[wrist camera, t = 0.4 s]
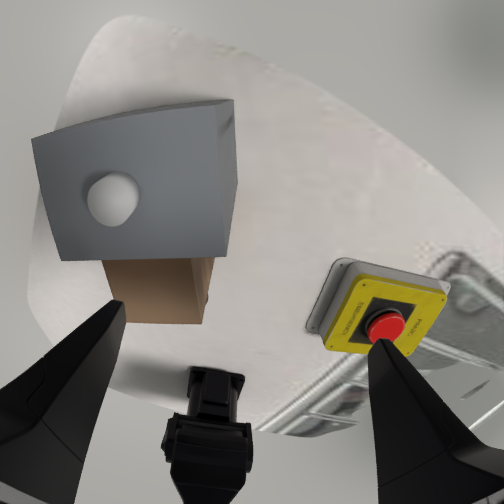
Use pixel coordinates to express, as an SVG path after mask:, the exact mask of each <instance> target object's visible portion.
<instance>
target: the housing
mask: <svg viewBox="0 0 504 504" xmlns="http://www.w3.org/2000/svg"><path fill="white" fill-rule="evenodd" d="M31 141H32V147H33V153H34V159H35V164H36V169H37V174H38V179H39V183H40V188H41V192H42V196H43V200H44V204H45V208H46V212H47V216H48V220H49V223H50V227H51V230H52V233H53V237H54V240H55V243H56V246H57V250H58V253H59V256H60V259H61V261H87V260H126V259H164V258H200V257H226V255H227V248H228V242H229V235H230V228H231V222H232V215H233V209H234V202H235V196H236V190H237V184H238V180H237V161H236V141H235V121H234V100H219V101H206V102H195V103H186V104H177V105H169V106H161V107H154V108H148V109H141V110H135V111H130V112H124V113H119V114H115V115H111V116H106V117H102V118H98V119H95V120H91V121H87V122H84V123H80V124H76V125H73V126H70V127H66V128H63V129H60V130H57V131H54V132H50V133H47V134H44V135H42V136H39V137H36V138H33V139H31Z"/></svg>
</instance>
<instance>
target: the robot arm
mask: <svg viewBox="0 0 504 504" xmlns="http://www.w3.org/2000/svg"><path fill="white" fill-rule="evenodd" d="M125 325H126V312H125V305H124V302H123V301H119V300H114V299H113V300H111V301H109V302H108V303H107V304H106V305H104V306H103V307H102V308H101V309H99V310H98V311H97V312H96V313H94V314H93V315H92V316H91V317H90V318H88V319H87V320H86V321H85V322H83V323H82V324H81V325H80V326H79V327H77V328H76V329H75V330H74V331H73V332H71V333H70V334H69V335H68V336H67V337H65V338H64V339H63V340H62V341H61V342H59V343H58V344H57V345H56V346H55V347H53V348H52V349H51V350H50V351H49V352H48V353H46V354H45V355H44V357H42V358H41V359H39V360H38V361H37V362H36V363H35V364H33V365H32V366H31V367H30V368H29V369H28V370H26V371H25V372H24V373H22V374H21V375H20V376H18V377H17V378H16V379H14V380H13V381H11V382H10V383H8V384H7V385H6V386H4V387H3V388H1V389H0V504H74V502H75V497H76V493H77V489H78V485H79V480H80V477H81V473H82V469H83V465H84V461H85V458H86V454H87V451H88V447H89V444H90V440H91V437H92V433H93V430H94V427H95V424H96V421H97V417H98V414H99V411H100V408H101V405H102V402H103V399H104V396H105V393H106V390H107V387H108V384H109V382H110V379H111V376H112V373H113V370H114V367H115V364H116V361H117V357H118V353H119V349H120V345H121V341H122V337H123V333H124V329H125ZM368 379H369V396H370V404H371V413H372V421H373V430H374V441H375V450H376V464H377V478H378V500H379V501H378V502H379V504H504V450H501V449H497V448H492V447H489V446H487V445H485V444H484V443H482V442H481V441H480V440H479V439H478V438H477V437H476V436H475V435H474V434H473V433H472V432H471V431H470V430H469V429H468V428H467V427H466V426H465V425H464V424H463V423H462V422H461V420H460V419H459V418H458V417H457V416H456V415H455V414H454V413H453V412H452V411H451V409H450V408H449V407H448V406H447V405H446V404H445V403H444V402H443V400H442V399H441V398H440V397H439V395H438V394H437V393H436V392H435V391H434V389H433V388H432V387H431V386H430V385H429V384H428V382H427V381H426V380H425V379H424V378H423V377H422V375H421V374H420V373H419V372H418V371H417V370H416V369H415V367H414V366H413V365H412V364H411V363H410V362H409V361H408V359H407V358H406V357H405V356H404V355H403V354H402V353H401V352H400V350H399V349H398V348H397V347H396V346H395V345H394V344H393V343H392V341H391V340H390V339H388V338H378V339H377V340H376V342H375V343H374V345H373V346H372V347H371V349H370V350H369V352H368ZM244 382H245V376H243V375H237V374H231V373H225V372H219V371H213V370H207V369H202V368H196V367H192V368H191V371H190V378H189V385H188V392H187V397H188V398H189V405H188V411H187V415H181V414H179V413H175V412H174V415H173V417H172V418H170V419H168V423H167V428H166V432H165V435H164V438H163V440H162V443H161V449H162V450H163V451H164V452H165V456H166V462H168V463H171V470H170V474H171V478H172V481H173V483H174V485H175V487H176V489H177V491H178V493H179V495H180V497H181V499H182V501H183V503H184V504H229V503H230V502H231V501H232V500H233V498H234V497H235V496H236V495H237V493H238V492H239V491H240V490H241V488H242V487H243V486H244V484H245V481H246V473H249V472H250V471H251V468H252V462H253V441H252V432H251V423H238V422H236V418H237V401H238V398H239V395H240V393H241V390H242V387H243V385H244Z"/></svg>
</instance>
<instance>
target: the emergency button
mask: <svg viewBox="0 0 504 504" xmlns="http://www.w3.org/2000/svg"><path fill="white" fill-rule="evenodd" d="M450 288H451V286H450V283H449V282H447V281H444V280H440V279H435V278H431V277H427V276H423V275H419V274H415V273H411V272H406V271H402V270H398V269H394V268H390V267H385V266H381V265H377V264H372V263H368V262H364V261H360V260H355V259H351V258H340V259H338V260H336V261H335V262H334V264H333V266H332V268H331V270H330V273H329V275H328V277H327V280H326V282H325V284H324V286H323V289H322V291H321V293H320V296H319V298H318V300H317V302H316V304H315V307H314V309H313V311H312V313H311V315H310V318H309V320H308V322H307V324H306V329H307V330H308V331H309V332H311V333H315V334H320V335H321V338H322V340H323V344H324V346H325V348H326V349H327V350H330V351H338V352H348V353H358V354H368V352H369V350H370V349H371V347H372V346H373V345H374V343H375V342H376V340H377V339H378V338H388V339H390V340H391V341H392V343H393V344H394V345H395V346H396V347H397V348H398V349H399V350H400V352H401V353H402V354H403V355H404V356H405V357H407V356H409V355H410V354H411V353H412V352H413V351H414V350H415V349H416V347H417V346H418V344H419V343H420V341H421V340H422V339H423V337H424V336H425V334H426V333H427V331H428V330H429V328H430V327H431V325H432V324H433V322H434V321H435V319H436V318H437V316H438V315H439V313H440V312H441V310H442V308H443V307H444V305H445V303H446V301H447V294H448V293H449V291H450Z"/></svg>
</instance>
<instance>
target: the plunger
mask: <svg viewBox="0 0 504 504" xmlns="http://www.w3.org/2000/svg"><path fill="white" fill-rule="evenodd" d="M214 259H215V257H200V258H164V259H126V260H102V263H103V267H104V270H105V273H106V277H107V280H108V283H109V286H110V289H111V292H112V295H113V298H114V300H119V301H123V302H124V305H125V312H126V322H129V323H156V324H202V320H203V314H204V309H205V305H206V303H207V301H208V289H209V284H210V279H211V274H212V269H213V264H214Z"/></svg>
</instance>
